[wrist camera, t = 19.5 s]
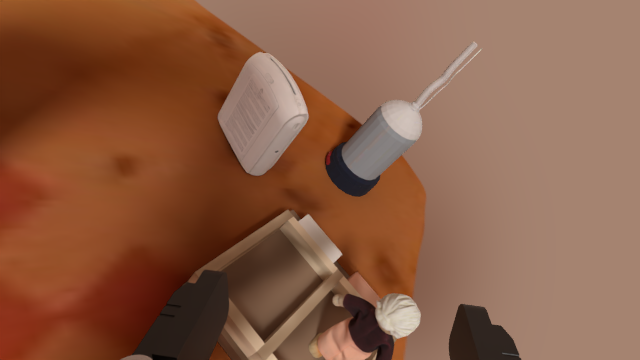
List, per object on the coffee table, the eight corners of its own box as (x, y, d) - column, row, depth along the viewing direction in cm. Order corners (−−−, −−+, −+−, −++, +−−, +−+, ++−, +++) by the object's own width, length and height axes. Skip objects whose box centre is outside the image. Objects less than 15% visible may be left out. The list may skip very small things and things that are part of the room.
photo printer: (273, 174, 50) (323, 109, 42) (246, 179, 47) (294, 111, 39) (239, 114, 53) (279, 43, 45) (211, 115, 50) (249, 40, 42)
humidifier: (316, 152, 57) (436, 11, 41) (355, 152, 62) (474, 27, 46) (339, 198, 54) (479, 64, 38) (377, 194, 59) (514, 75, 43)
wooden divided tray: (178, 290, 35) (189, 275, 32) (287, 215, 47) (301, 200, 44) (306, 456, 32) (328, 452, 30) (385, 332, 44) (405, 323, 42)
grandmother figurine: (358, 373, 38) (453, 335, 30) (336, 401, 35) (435, 367, 27) (312, 308, 39) (391, 255, 31) (287, 329, 36) (366, 277, 28)
